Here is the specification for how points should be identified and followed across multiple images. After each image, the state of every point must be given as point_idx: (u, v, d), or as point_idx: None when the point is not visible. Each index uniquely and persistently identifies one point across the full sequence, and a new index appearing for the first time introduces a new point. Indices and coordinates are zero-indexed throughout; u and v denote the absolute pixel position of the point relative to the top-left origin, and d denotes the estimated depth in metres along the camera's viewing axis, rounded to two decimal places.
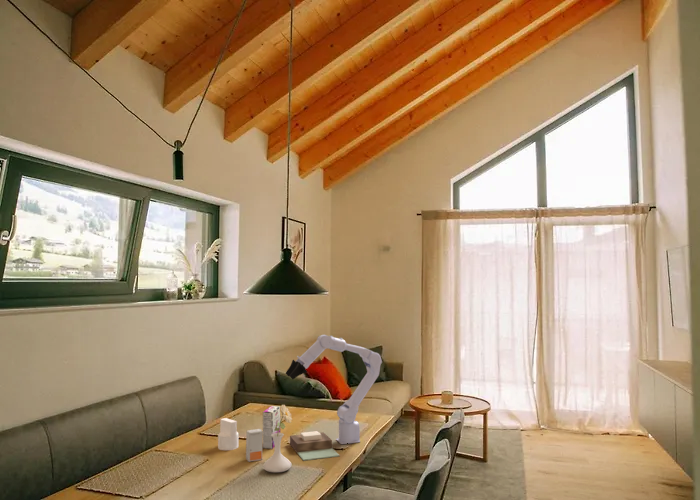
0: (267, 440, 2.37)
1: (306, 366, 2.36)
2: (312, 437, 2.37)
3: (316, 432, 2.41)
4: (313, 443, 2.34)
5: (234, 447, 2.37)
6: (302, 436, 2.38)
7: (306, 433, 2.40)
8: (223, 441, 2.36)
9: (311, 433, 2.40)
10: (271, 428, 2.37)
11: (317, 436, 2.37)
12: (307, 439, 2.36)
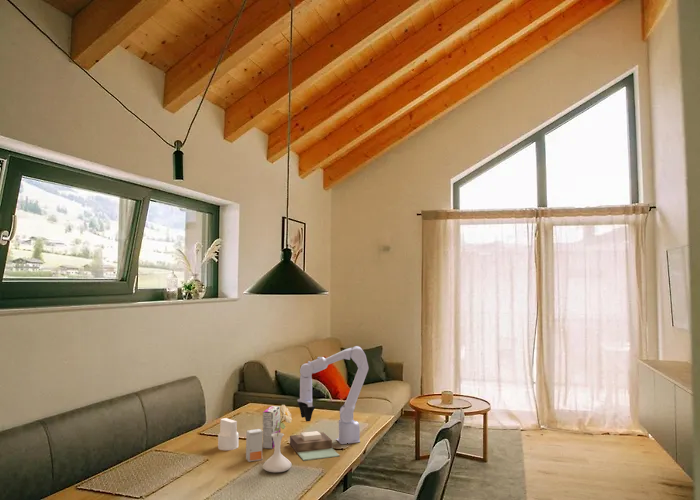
0: (267, 440, 2.37)
1: (310, 405, 2.41)
2: (312, 437, 2.37)
3: (316, 432, 2.41)
4: (313, 443, 2.34)
5: (234, 447, 2.37)
6: (302, 436, 2.38)
7: (306, 433, 2.40)
8: (223, 441, 2.36)
9: (311, 433, 2.40)
10: (271, 428, 2.37)
11: (317, 436, 2.37)
12: (307, 439, 2.36)
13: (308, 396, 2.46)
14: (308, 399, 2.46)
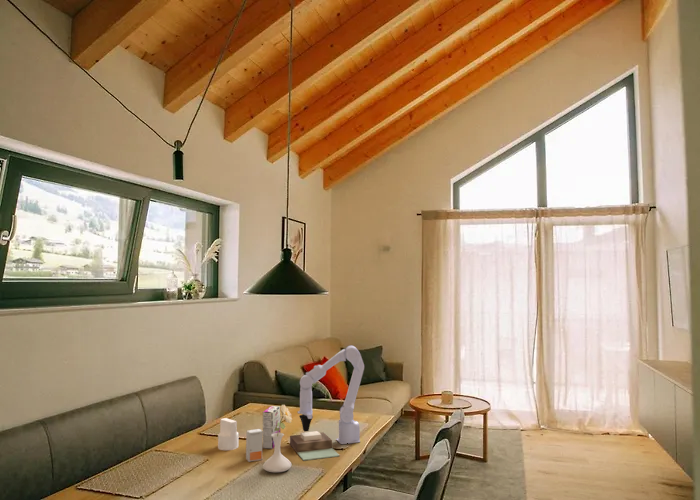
0: (267, 440, 2.37)
1: (310, 417, 2.41)
2: (312, 437, 2.37)
3: (316, 432, 2.41)
4: (313, 443, 2.34)
5: (234, 447, 2.37)
6: (302, 436, 2.38)
7: (306, 433, 2.40)
8: (223, 441, 2.36)
9: (311, 433, 2.40)
10: (271, 428, 2.37)
11: (317, 436, 2.37)
12: (307, 439, 2.36)
13: (308, 408, 2.46)
14: (308, 411, 2.45)
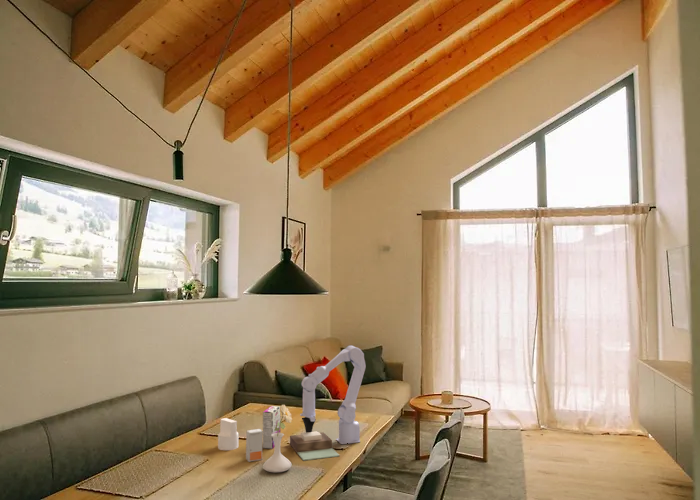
0: (267, 440, 2.37)
1: (313, 419, 2.37)
2: (312, 437, 2.36)
3: (316, 432, 2.41)
4: (313, 443, 2.34)
5: (234, 447, 2.37)
6: (302, 436, 2.38)
7: (306, 433, 2.40)
8: (223, 441, 2.36)
9: (311, 433, 2.40)
10: (271, 428, 2.37)
11: (317, 436, 2.37)
12: (307, 439, 2.35)
13: (311, 410, 2.41)
14: (311, 413, 2.41)
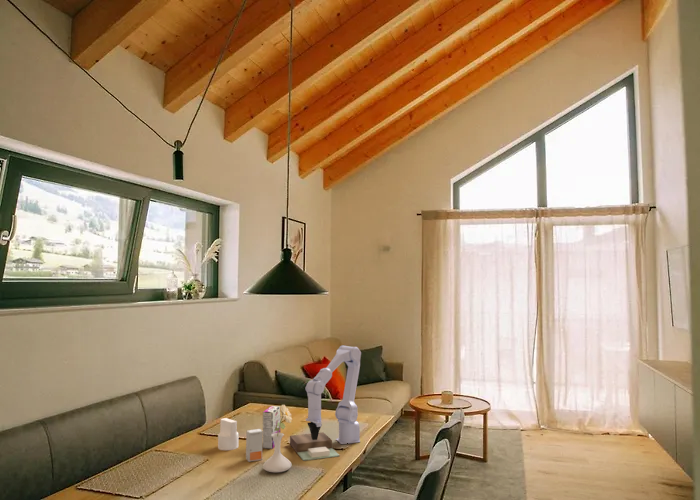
0: (267, 440, 2.37)
1: (319, 425, 2.28)
2: None
3: None
4: (313, 443, 2.34)
5: (234, 447, 2.37)
6: (309, 453, 2.26)
7: None
8: (223, 441, 2.36)
9: None
10: (271, 428, 2.37)
11: None
12: None
13: (317, 415, 2.32)
14: (317, 418, 2.32)
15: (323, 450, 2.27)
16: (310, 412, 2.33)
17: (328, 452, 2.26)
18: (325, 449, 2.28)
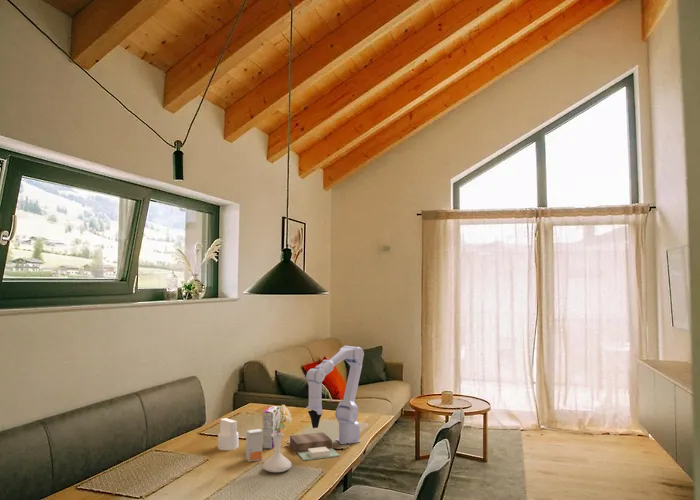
0: (267, 440, 2.37)
1: (320, 412, 2.28)
2: None
3: None
4: (313, 443, 2.34)
5: (234, 447, 2.37)
6: (309, 453, 2.26)
7: None
8: (223, 441, 2.36)
9: None
10: (271, 428, 2.37)
11: None
12: None
13: (317, 403, 2.32)
14: (317, 406, 2.32)
15: (323, 450, 2.27)
16: (311, 400, 2.32)
17: (328, 452, 2.26)
18: (325, 449, 2.28)
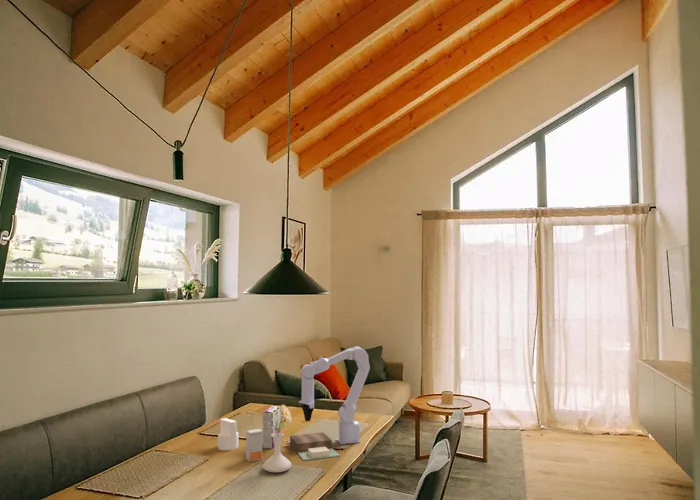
0: (267, 440, 2.37)
1: (312, 406, 2.39)
2: None
3: None
4: (313, 443, 2.34)
5: (234, 447, 2.37)
6: (309, 453, 2.26)
7: None
8: (223, 441, 2.36)
9: None
10: (271, 428, 2.37)
11: None
12: None
13: (310, 397, 2.43)
14: (310, 400, 2.43)
15: (323, 450, 2.27)
16: (303, 395, 2.43)
17: (328, 452, 2.26)
18: (325, 449, 2.28)
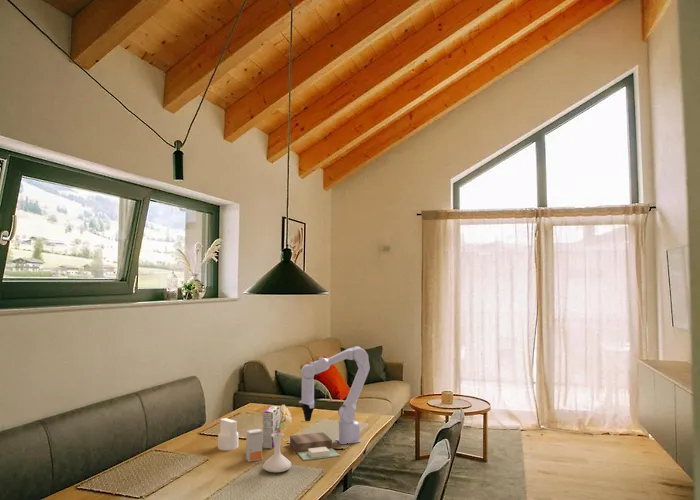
0: (267, 440, 2.37)
1: (312, 406, 2.39)
2: None
3: None
4: (313, 443, 2.34)
5: (234, 447, 2.37)
6: (309, 453, 2.26)
7: None
8: (223, 441, 2.36)
9: None
10: (271, 428, 2.37)
11: None
12: None
13: (310, 397, 2.43)
14: (310, 400, 2.43)
15: (323, 450, 2.27)
16: (303, 395, 2.43)
17: (328, 452, 2.26)
18: (325, 449, 2.28)
